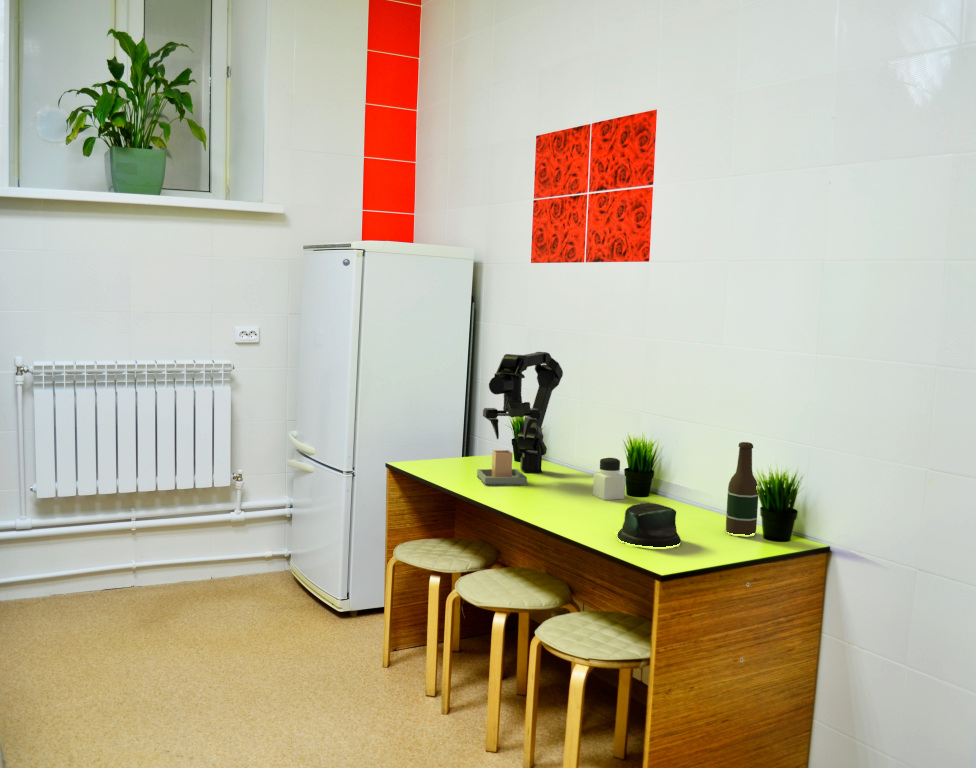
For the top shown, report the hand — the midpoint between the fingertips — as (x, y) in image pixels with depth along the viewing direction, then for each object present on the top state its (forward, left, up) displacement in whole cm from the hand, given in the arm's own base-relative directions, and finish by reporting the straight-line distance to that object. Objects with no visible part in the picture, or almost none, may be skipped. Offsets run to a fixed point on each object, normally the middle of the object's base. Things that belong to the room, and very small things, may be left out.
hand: (511, 439), depth 282 cm
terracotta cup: (+4, +5, -12) cm, 14 cm away
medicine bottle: (-24, +30, -13) cm, 41 cm away
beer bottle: (-45, +73, -13) cm, 87 cm away
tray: (+4, +5, -13) cm, 14 cm away
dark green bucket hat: (-18, +77, -14) cm, 80 cm away
